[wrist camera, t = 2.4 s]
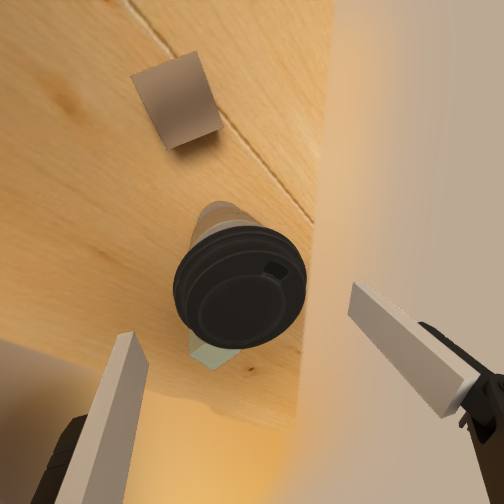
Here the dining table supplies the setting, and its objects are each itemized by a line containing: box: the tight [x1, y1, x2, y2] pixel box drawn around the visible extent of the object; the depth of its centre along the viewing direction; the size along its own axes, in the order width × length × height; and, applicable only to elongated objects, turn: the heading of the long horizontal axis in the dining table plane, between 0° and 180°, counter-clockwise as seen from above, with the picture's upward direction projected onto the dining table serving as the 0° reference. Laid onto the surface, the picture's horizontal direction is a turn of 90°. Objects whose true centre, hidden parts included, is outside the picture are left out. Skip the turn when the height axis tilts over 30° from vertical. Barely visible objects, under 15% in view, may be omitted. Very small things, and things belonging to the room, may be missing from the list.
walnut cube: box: [130, 51, 223, 150], centre depth 19 cm, size 5×5×5 cm
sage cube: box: [189, 329, 241, 371], centre depth 32 cm, size 5×5×5 cm
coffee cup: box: [173, 201, 307, 350], centre depth 21 cm, size 9×9×15 cm
